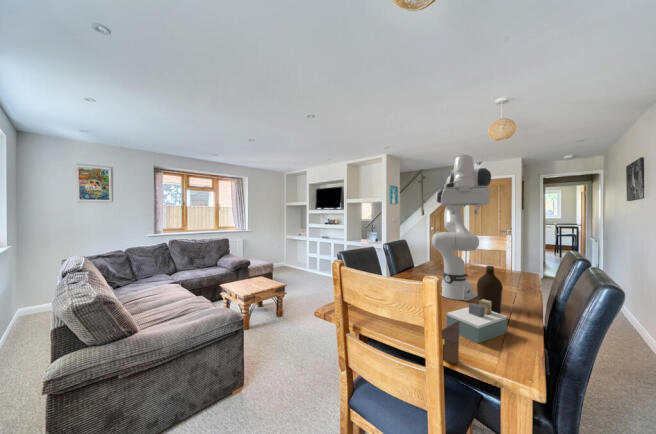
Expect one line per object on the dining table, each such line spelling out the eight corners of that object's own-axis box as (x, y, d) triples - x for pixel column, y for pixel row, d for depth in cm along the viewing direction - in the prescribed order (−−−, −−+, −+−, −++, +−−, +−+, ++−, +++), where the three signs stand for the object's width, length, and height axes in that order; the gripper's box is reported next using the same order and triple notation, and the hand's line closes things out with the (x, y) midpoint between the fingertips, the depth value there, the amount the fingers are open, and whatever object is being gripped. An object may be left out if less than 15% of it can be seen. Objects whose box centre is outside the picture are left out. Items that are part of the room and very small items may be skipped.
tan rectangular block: (482, 325, 115) (483, 299, 114) (490, 328, 112) (491, 301, 111) (478, 327, 113) (478, 300, 113) (486, 330, 110) (486, 302, 110)
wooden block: (453, 364, 85) (454, 311, 85) (424, 350, 93) (425, 302, 93) (459, 360, 87) (460, 309, 87) (429, 347, 96) (430, 300, 95)
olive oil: (480, 320, 120) (481, 267, 120) (473, 311, 131) (474, 263, 130) (505, 322, 118) (507, 269, 117) (496, 313, 128) (498, 264, 128)
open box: (474, 320, 120) (474, 307, 120) (506, 332, 108) (506, 318, 108) (446, 328, 111) (446, 315, 111) (478, 343, 99) (478, 328, 99)
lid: (474, 307, 120) (475, 297, 120) (506, 318, 108) (507, 307, 108) (446, 315, 111) (447, 303, 111) (478, 328, 99) (478, 315, 99)
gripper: (488, 188, 120) (489, 215, 116) (441, 189, 128) (440, 215, 125) (490, 182, 114) (491, 211, 111) (440, 184, 123) (440, 211, 119)
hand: (464, 213), depth 118 cm, fingers open, 8 cm apart
